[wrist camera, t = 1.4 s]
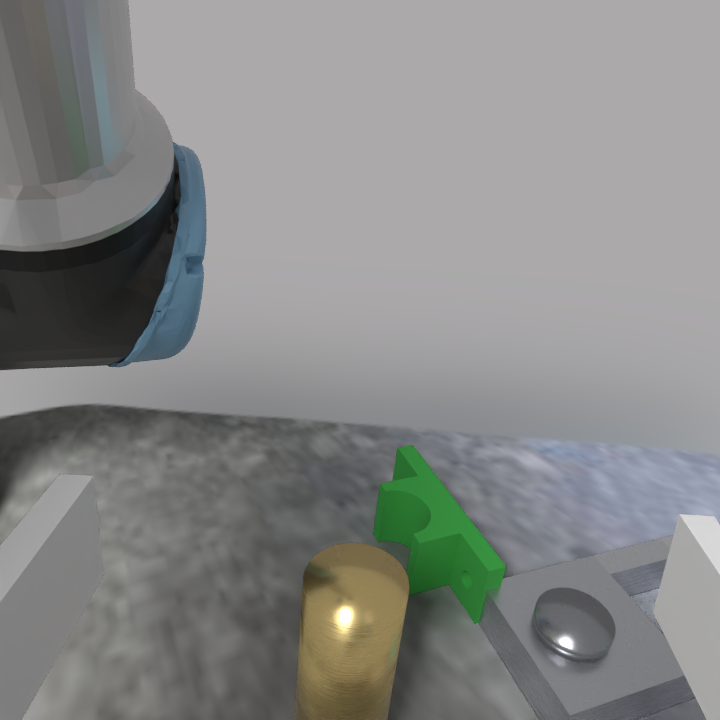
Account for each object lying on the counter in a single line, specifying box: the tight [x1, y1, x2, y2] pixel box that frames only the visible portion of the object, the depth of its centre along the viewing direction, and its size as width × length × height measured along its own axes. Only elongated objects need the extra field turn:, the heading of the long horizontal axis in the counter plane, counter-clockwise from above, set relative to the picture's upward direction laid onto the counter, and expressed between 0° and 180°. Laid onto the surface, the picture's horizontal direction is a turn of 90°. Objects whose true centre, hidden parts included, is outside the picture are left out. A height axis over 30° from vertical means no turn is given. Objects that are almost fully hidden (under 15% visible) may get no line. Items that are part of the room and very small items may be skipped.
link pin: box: [294, 543, 409, 720], centre depth 29 cm, size 4×4×11 cm
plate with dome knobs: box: [479, 523, 720, 720], centre depth 38 cm, size 8×20×3 cm, turn 111°
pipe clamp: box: [373, 445, 506, 624], centre depth 42 cm, size 11×4×5 cm, turn 23°
